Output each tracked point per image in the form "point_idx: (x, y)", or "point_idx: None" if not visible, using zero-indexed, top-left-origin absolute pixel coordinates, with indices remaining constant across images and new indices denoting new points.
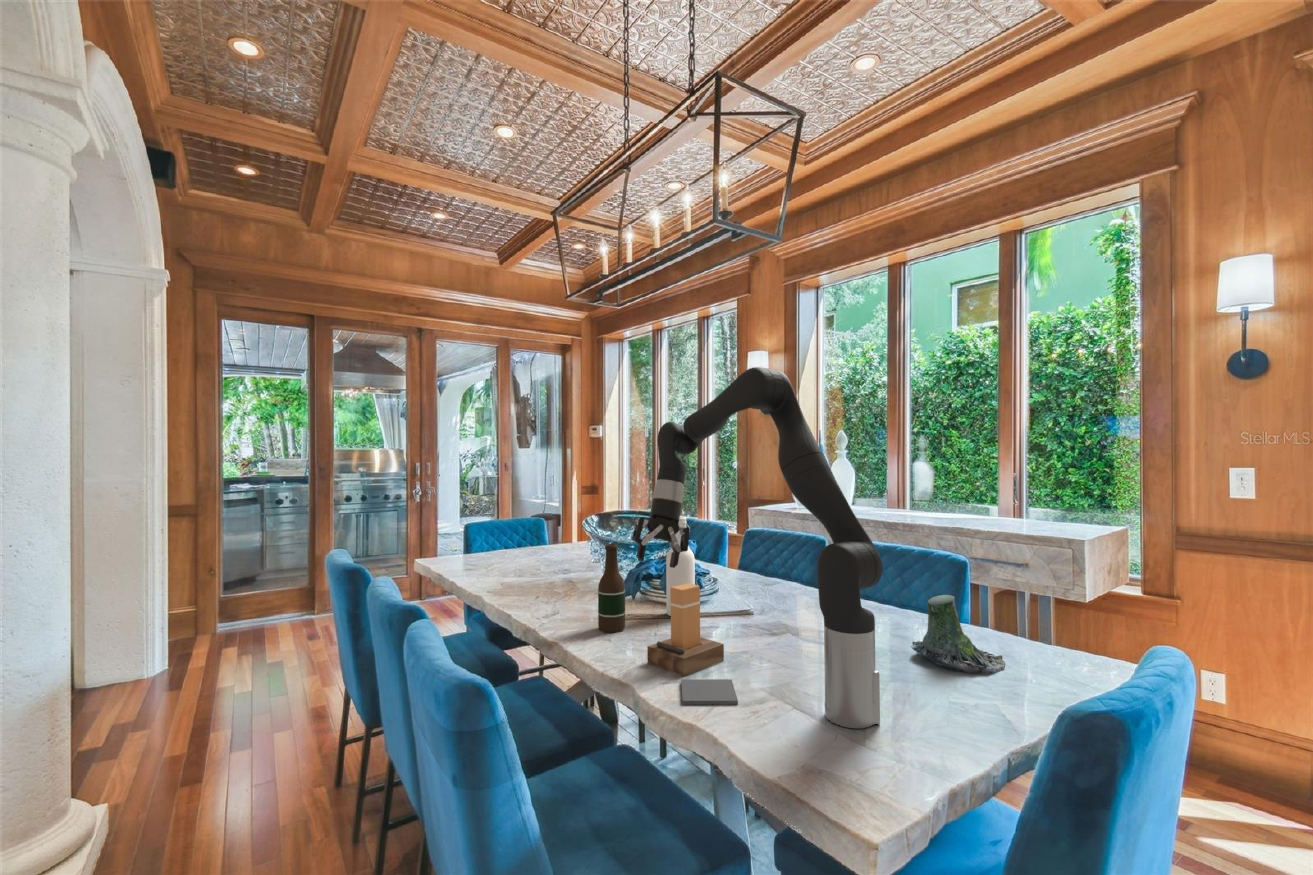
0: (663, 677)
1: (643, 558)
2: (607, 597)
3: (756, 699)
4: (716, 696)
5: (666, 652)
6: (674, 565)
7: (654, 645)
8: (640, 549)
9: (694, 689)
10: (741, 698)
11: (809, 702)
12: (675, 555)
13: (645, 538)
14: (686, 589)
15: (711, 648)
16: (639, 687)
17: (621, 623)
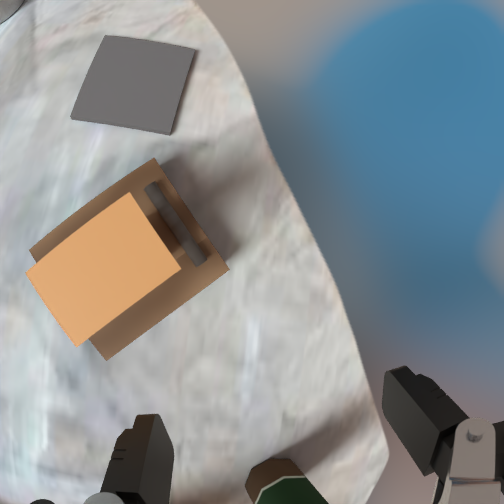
0: (199, 173)
1: (396, 376)
2: (318, 501)
3: (66, 53)
4: (131, 52)
5: (188, 209)
6: (143, 418)
7: (210, 271)
8: (451, 406)
9: (159, 83)
10: (87, 58)
11: (5, 43)
12: (134, 473)
13: (490, 462)
14: (105, 209)
15: (66, 219)
16: (255, 136)
17: (259, 476)
